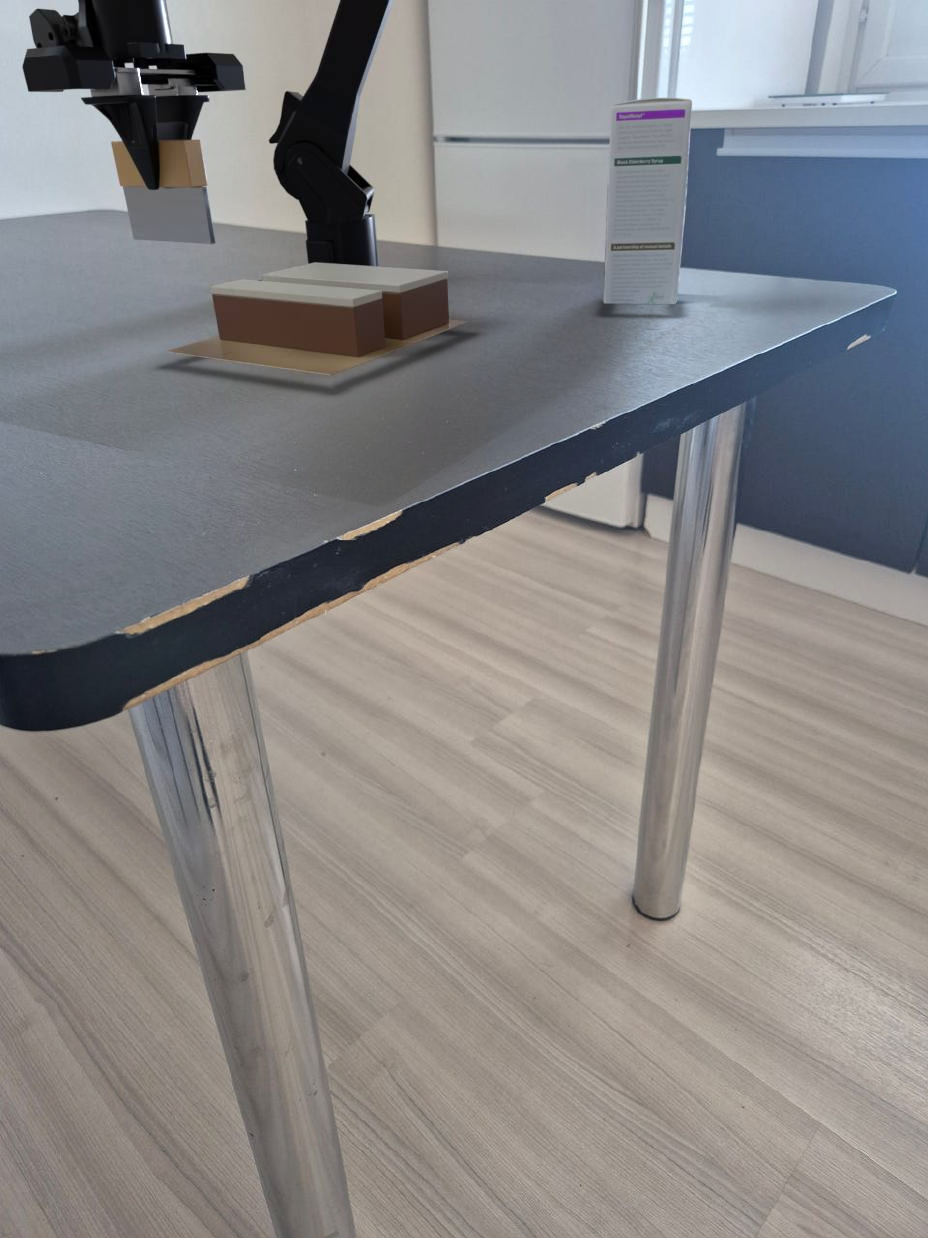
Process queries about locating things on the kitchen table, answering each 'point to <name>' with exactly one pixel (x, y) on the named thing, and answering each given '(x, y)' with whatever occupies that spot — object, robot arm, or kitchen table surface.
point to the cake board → (297, 353)
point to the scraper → (168, 194)
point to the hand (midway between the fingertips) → (164, 188)
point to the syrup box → (646, 200)
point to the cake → (384, 292)
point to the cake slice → (300, 316)
